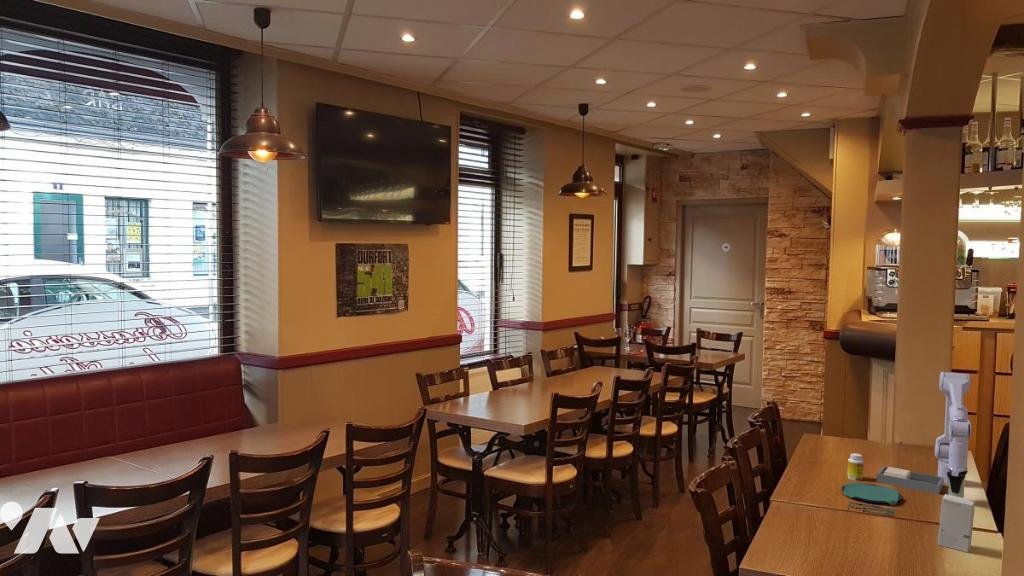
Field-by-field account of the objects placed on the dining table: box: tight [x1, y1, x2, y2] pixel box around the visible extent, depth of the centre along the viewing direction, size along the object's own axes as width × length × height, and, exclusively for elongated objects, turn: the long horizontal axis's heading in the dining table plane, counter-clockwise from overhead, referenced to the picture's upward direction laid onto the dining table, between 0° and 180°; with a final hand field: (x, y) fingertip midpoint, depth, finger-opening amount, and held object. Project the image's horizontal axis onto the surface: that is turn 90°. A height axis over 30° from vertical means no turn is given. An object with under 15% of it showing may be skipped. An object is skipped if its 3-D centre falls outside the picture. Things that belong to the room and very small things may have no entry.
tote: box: [875, 465, 945, 495], centre depth 275 cm, size 13×21×4 cm, turn 52°
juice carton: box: [947, 475, 966, 498], centre depth 258 cm, size 4×4×8 cm
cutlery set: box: [841, 481, 903, 518], centre depth 258 cm, size 20×30×2 cm, turn 150°
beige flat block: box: [883, 466, 911, 480], centre depth 277 cm, size 9×8×4 cm
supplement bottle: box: [846, 452, 864, 482], centre depth 280 cm, size 6×6×10 cm
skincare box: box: [937, 493, 976, 553], centre depth 217 cm, size 8×6×15 cm
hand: (956, 491), depth 258 cm, fingers closed on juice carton, 4 cm apart
